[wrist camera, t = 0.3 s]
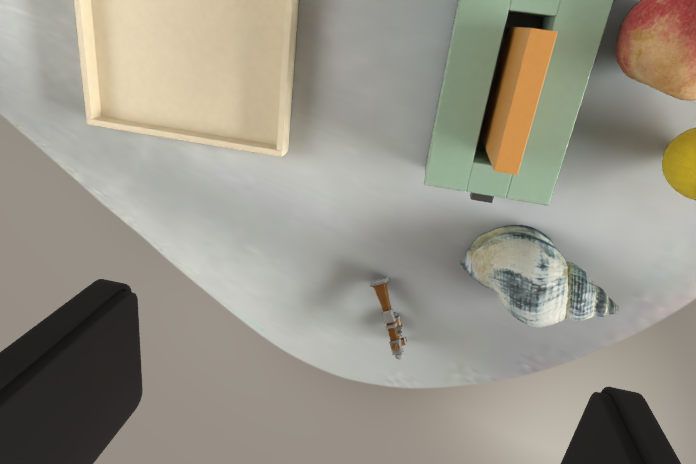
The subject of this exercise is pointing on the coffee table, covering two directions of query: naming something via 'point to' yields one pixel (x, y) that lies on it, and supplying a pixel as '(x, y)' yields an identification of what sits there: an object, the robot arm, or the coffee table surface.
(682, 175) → the lemon
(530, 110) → the toast
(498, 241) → the seashell
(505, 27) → the toaster
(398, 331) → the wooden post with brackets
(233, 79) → the tray
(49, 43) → the coffee table surface
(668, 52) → the fruit
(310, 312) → the coffee table surface
